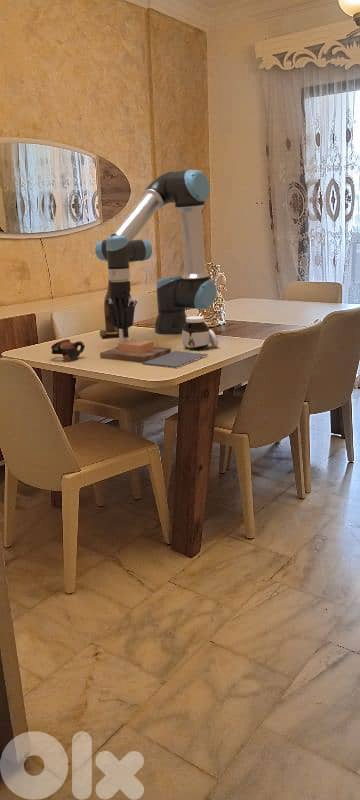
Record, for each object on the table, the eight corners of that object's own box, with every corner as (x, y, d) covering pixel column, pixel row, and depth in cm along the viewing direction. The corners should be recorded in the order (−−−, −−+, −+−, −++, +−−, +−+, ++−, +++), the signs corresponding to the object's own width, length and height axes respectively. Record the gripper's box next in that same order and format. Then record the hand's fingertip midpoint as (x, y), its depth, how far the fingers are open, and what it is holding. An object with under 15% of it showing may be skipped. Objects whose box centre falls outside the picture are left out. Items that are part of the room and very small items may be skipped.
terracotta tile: (132, 347, 236) (131, 339, 235) (154, 349, 230) (153, 341, 229) (118, 351, 229) (118, 343, 228) (140, 353, 224) (140, 345, 223)
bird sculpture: (103, 340, 264) (98, 261, 254) (98, 334, 275) (93, 259, 265) (129, 338, 267) (125, 260, 257) (124, 332, 277) (120, 257, 267)
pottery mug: (57, 365, 224) (48, 344, 225) (57, 371, 233) (49, 351, 234) (89, 352, 227) (80, 332, 227) (88, 359, 236) (79, 339, 237)
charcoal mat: (175, 352, 233) (175, 351, 233) (208, 355, 225) (207, 354, 225) (142, 364, 217) (142, 362, 217) (176, 368, 209) (176, 366, 209)
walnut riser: (127, 349, 242) (127, 344, 242) (171, 353, 232) (170, 348, 231) (100, 357, 230) (100, 352, 229) (145, 363, 219) (144, 357, 218)
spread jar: (179, 348, 240) (178, 317, 236) (200, 343, 247) (199, 313, 244) (202, 352, 231) (201, 320, 228) (223, 347, 239) (222, 316, 235)
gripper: (98, 281, 226) (103, 346, 233) (127, 282, 219) (131, 349, 226) (112, 279, 232) (116, 342, 239) (140, 279, 225) (144, 345, 232)
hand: (123, 345), depth 232 cm, fingers closed
